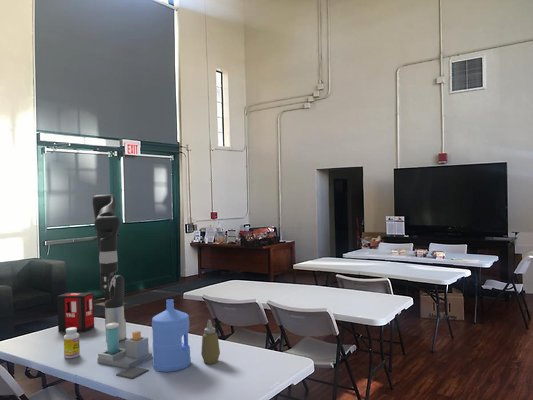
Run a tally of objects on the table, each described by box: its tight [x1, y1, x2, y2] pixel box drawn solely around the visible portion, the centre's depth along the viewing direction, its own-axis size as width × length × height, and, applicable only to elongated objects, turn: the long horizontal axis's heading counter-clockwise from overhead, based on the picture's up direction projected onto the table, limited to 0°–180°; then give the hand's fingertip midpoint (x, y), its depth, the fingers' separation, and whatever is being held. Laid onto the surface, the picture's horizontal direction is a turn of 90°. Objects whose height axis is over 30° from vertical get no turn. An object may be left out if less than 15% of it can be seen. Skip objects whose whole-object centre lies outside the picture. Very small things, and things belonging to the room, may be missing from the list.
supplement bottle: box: [63, 327, 81, 359], centre depth 202 cm, size 7×7×13 cm
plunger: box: [131, 330, 142, 341], centre depth 195 cm, size 4×4×5 cm
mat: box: [115, 366, 149, 380], centre depth 179 cm, size 9×9×1 cm
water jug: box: [151, 298, 192, 373], centre depth 185 cm, size 16×16×28 cm
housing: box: [96, 336, 153, 369], centre depth 194 cm, size 14×19×9 cm
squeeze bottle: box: [201, 319, 221, 365], centre depth 188 cm, size 8×8×18 cm
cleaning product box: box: [56, 292, 95, 333], centre depth 246 cm, size 16×9×20 cm, turn 81°
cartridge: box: [105, 323, 120, 355], centre depth 194 cm, size 5×5×14 cm
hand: (109, 297), depth 192 cm, fingers open, 8 cm apart
